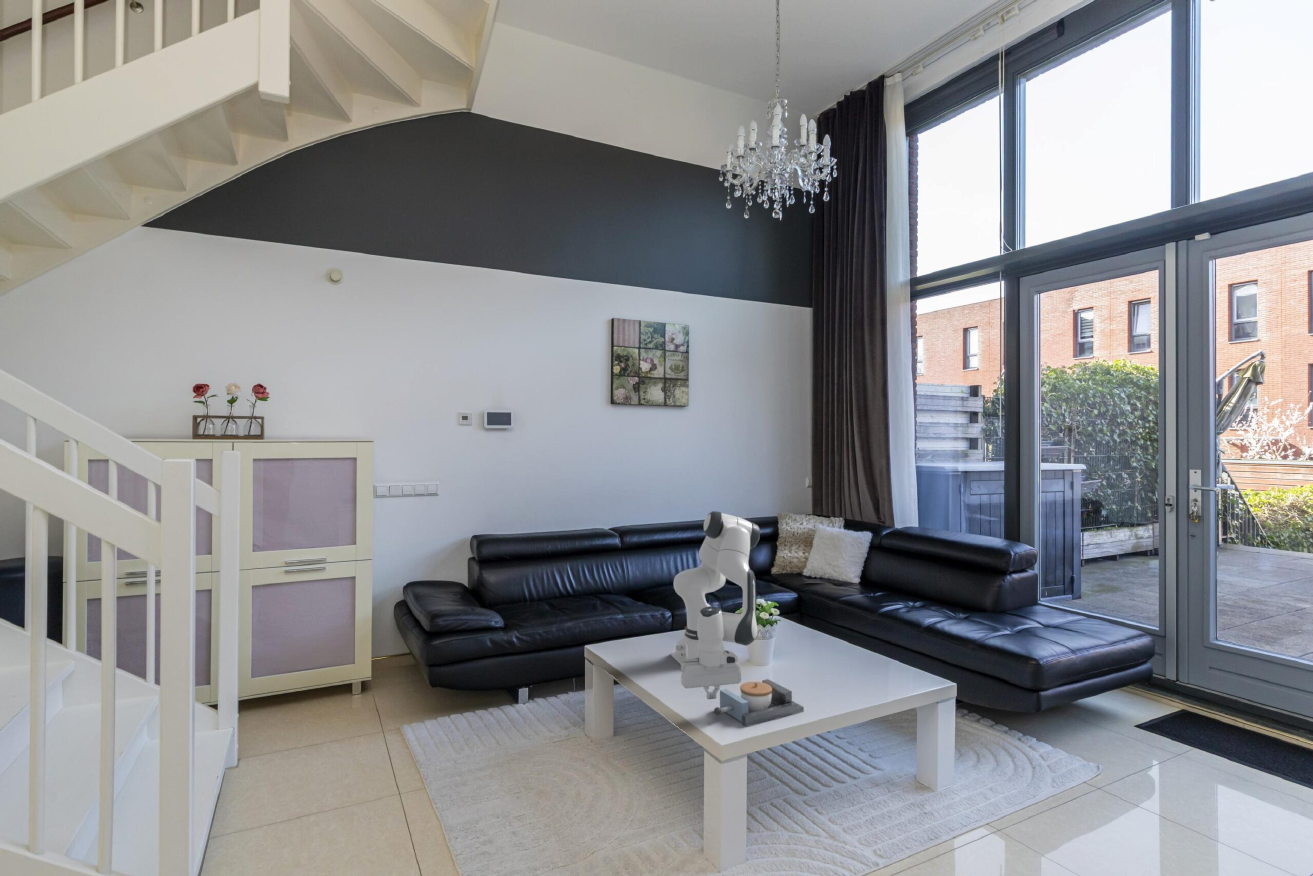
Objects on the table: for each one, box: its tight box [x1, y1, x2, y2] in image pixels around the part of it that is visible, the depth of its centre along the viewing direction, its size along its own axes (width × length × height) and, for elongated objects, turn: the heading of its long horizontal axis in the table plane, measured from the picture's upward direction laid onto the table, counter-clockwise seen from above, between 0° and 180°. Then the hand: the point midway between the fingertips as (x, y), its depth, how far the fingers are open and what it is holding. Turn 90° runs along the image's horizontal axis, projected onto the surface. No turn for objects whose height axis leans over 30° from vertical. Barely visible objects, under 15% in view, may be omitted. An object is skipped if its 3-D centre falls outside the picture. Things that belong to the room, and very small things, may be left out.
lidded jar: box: [739, 681, 772, 713], centre depth 224 cm, size 11×11×9 cm
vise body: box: [741, 678, 805, 728], centre depth 223 cm, size 16×24×6 cm, turn 118°
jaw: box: [713, 688, 750, 723], centre depth 218 cm, size 13×10×6 cm
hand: (711, 698), depth 220 cm, fingers closed
